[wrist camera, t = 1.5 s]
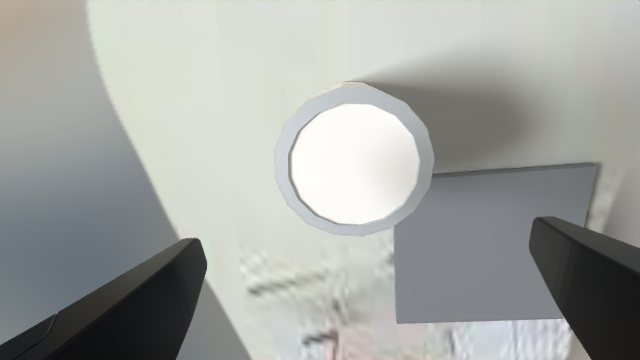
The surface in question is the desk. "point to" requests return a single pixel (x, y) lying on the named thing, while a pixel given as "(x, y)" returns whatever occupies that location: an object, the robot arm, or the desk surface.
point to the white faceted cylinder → (353, 160)
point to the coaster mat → (483, 243)
